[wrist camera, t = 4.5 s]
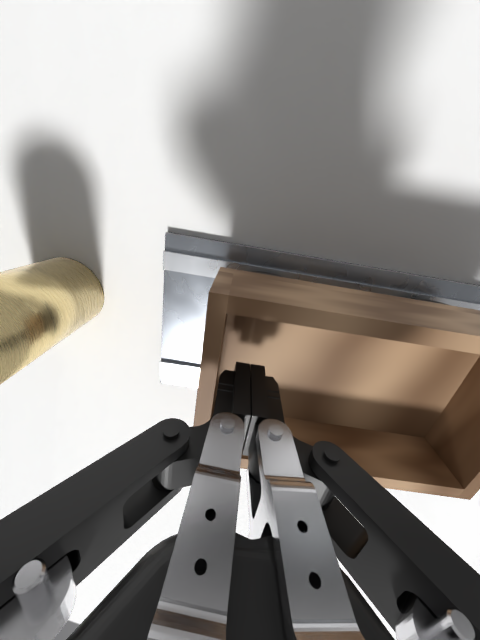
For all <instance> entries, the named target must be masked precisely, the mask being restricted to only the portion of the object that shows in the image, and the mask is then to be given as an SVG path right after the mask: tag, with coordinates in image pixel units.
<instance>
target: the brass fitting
mask: <svg viewBox="0 0 480 640" xmlns="http://www.w3.org/2000/svg"><path fill="white" fill-rule="evenodd" d="M103 303H104V293H103V289H102V286H101V284H100V282H99V280H98V279H97V277H96V276H95V275H94V273H93V272H92V271H91V270H90V269H88V268H87V267H86V266H84V265H83V264H81V263H80V262H78V261H75V260H73V259H69V258H64V257H58V258H52V259H48V260H45V261H41V262H37V263H33V264H29V265H26V266H22V267H18V268H14V269H10V270H7V271H3V272H0V384H2V383H3V382H4V381H6V380H7V379H9V378H10V377H11V376H13V375H14V374H16V373H17V372H18V371H20V370H21V369H22V368H24V367H25V366H27V365H28V364H29V363H31V362H32V361H34V360H35V359H36V358H38V357H39V356H41V355H42V354H43V353H45V352H46V351H48V350H49V349H50V348H52V347H53V346H55V345H56V344H57V343H59V342H60V341H62V340H63V339H64V338H66V337H67V336H69V335H70V334H71V333H73V332H74V331H76V330H77V329H78V328H80V327H81V326H83V325H84V324H85V323H87V322H88V321H90V320H91V319H92V318H94V317H95V316H96V315H98V313H99V312H100V311H101V309H102V307H103Z"/></svg>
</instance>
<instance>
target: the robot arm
mask: <svg viewBox="0 0 480 640" xmlns="http://www.w3.org/2000/svg"><path fill="white" fill-rule="evenodd" d="M279 392H280V391H279V386H278V383H277V382H276V380H275V379H274V377H270V376H266V374H265V366H262V365H256V364H249V363H242V362H236V364H235V369H234V371H231V370H224V371H223V372H222V373H221V375H220V377H219V383H218V389H217V395H216V401H215V407H214V413H213V416H212V418H211V419H210V420H209V421H208V422H206V423H205V424H203V425H200V426H194V427H188V425H187V424H186V423H185V422H184V421H182V420H180V419H175V418H170V419H165V420H163V421H161V422H159V423H157V424H156V425H154V426H152V427H151V428H149V429H148V430H146V431H144V432H143V433H141V434H139V435H138V436H136V437H135V438H133V439H131V440H130V441H128V442H126V443H125V444H123V445H121V446H120V447H118V448H117V449H115V450H113V451H112V452H110V453H108V454H107V455H105V456H104V457H102V458H100V459H99V460H97V461H95V462H94V463H92V464H91V465H89V466H87V467H86V468H84V469H82V470H81V471H79V472H78V473H76V474H74V475H73V476H71V477H69V478H68V479H66V480H64V481H63V482H61V483H60V484H58V485H56V486H55V487H53V488H51V489H50V490H48V491H47V492H45V493H43V494H42V495H40V496H38V497H37V498H35V499H34V500H32V501H30V502H29V503H27V504H25V505H24V506H22V507H20V508H19V509H17V510H16V511H14V512H12V513H11V514H9V515H7V516H6V517H4V518H3V519H1V520H0V640H53V639H54V638H55V637H56V636H57V634H58V633H59V632H60V631H61V629H62V628H63V627H64V625H65V624H66V622H67V620H68V619H69V617H70V615H71V612H72V610H73V607H74V604H75V600H76V586H77V585H78V584H79V583H80V582H81V581H82V580H83V579H85V578H86V577H87V576H88V575H89V574H90V573H91V572H92V571H93V570H94V569H96V568H97V567H98V566H99V565H100V564H101V563H102V562H103V561H104V560H105V559H106V558H108V557H109V556H110V555H111V554H112V553H113V552H114V551H115V550H116V549H117V548H118V547H120V546H121V545H122V544H123V543H124V542H125V541H126V540H127V539H128V538H129V537H130V536H132V535H133V534H134V533H135V532H136V531H137V530H138V529H139V528H140V527H141V526H143V525H144V524H145V523H146V522H147V521H148V520H149V519H150V518H151V517H152V516H153V515H155V514H156V513H157V512H158V511H159V510H160V509H161V508H162V507H163V506H164V505H165V504H167V503H168V502H169V501H170V500H171V499H172V498H173V497H174V496H175V495H176V494H177V493H179V491H180V490H181V489H182V487H186V486H190V485H191V488H190V492H189V496H188V499H187V503H186V506H185V510H184V513H183V517H182V521H181V524H180V528H179V531H178V534H176V535H173V536H171V537H169V538H167V539H165V540H163V541H162V542H160V543H159V544H157V545H156V546H154V547H153V548H152V549H151V550H150V551H149V552H147V553H146V554H145V555H144V556H143V557H142V558H141V560H140V561H139V562H138V563H137V564H136V565H135V566H134V567H133V568H132V569H131V570H130V571H129V572H128V574H127V575H126V576H125V577H124V578H123V579H122V580H121V581H120V582H119V583H118V584H117V585H116V587H115V588H114V589H113V590H112V591H111V592H110V593H109V594H108V595H107V596H106V597H105V598H104V599H103V601H102V602H101V603H100V604H99V605H98V606H97V607H96V608H95V609H94V610H93V611H92V612H91V614H90V615H89V616H88V617H87V618H86V619H85V620H84V621H83V622H82V623H81V624H80V625H79V627H78V628H77V629H76V630H75V631H74V632H73V633H72V634H71V635H70V636H69V637H68V638H67V639H66V640H395V639H394V638H393V637H392V635H391V634H390V633H389V631H388V630H387V629H386V627H385V626H384V625H383V623H382V622H381V621H380V619H379V618H378V616H377V615H376V614H375V612H374V611H373V610H372V608H371V607H370V606H369V604H368V603H367V602H366V600H365V599H364V598H363V596H362V595H361V593H360V592H359V591H358V589H357V588H356V587H355V585H354V584H353V583H352V581H351V580H350V579H349V577H348V576H347V575H346V574H345V573H344V572H343V571H342V570H341V568H340V567H339V564H338V561H337V558H338V560H339V561H340V562H341V563H342V565H343V566H344V567H345V568H346V570H347V571H348V572H349V574H350V575H351V576H352V577H353V579H354V580H355V581H356V583H357V584H358V585H359V586H360V588H361V589H362V590H363V591H364V593H365V594H366V595H367V597H368V598H369V599H370V600H371V602H372V603H373V604H374V605H375V607H376V608H377V609H378V611H379V612H380V613H381V614H382V616H383V617H384V618H385V620H386V621H387V622H388V623H389V625H390V626H391V627H392V628H393V630H394V631H395V632H396V638H397V640H480V575H479V574H478V573H477V572H476V571H475V570H474V569H473V568H472V567H471V566H469V565H468V564H467V563H466V562H465V561H464V560H463V559H462V558H461V557H460V556H458V555H457V554H456V553H455V552H454V551H453V550H452V549H451V548H450V547H449V546H447V545H446V544H445V543H444V542H443V541H442V540H441V539H440V538H439V537H438V536H436V535H435V534H434V533H433V532H432V531H431V530H430V529H429V528H428V527H427V526H425V525H424V524H423V523H422V522H421V521H420V520H419V519H418V518H417V517H416V516H414V515H413V514H412V513H411V512H410V511H409V510H408V509H407V508H406V507H405V506H403V505H402V504H401V503H400V502H399V501H398V500H397V499H396V498H395V497H394V496H392V495H391V494H390V493H389V492H388V491H387V490H386V489H385V488H384V487H383V486H381V485H380V484H379V483H378V482H377V481H376V480H375V479H374V478H373V477H372V476H370V475H369V474H368V473H367V472H366V471H365V470H364V469H363V468H362V467H361V466H359V465H358V464H357V463H356V462H355V461H354V460H353V459H352V458H351V457H350V456H348V455H347V454H346V453H345V452H344V451H343V450H342V449H341V448H340V447H338V446H337V445H335V444H333V443H331V442H328V441H318V442H316V443H315V444H314V446H311V445H309V444H307V443H305V442H302V441H300V440H298V439H297V438H295V437H294V436H293V435H292V433H291V431H290V429H289V428H288V426H287V425H286V424H285V421H284V415H283V409H282V403H281V400H280V399H281V397H280V393H279ZM242 455H246V456H248V467H247V471H246V481H247V495H248V510H249V535H248V538H246V537H244V536H242V535H240V534H237V533H235V531H236V522H237V512H238V502H239V492H240V482H241V476H240V465H241V456H242ZM335 496H336V497H337V498H338V499H339V500H338V499H337V498H336V497H335ZM342 504H343V505H344V506H345V507H346V508H347V509H348V510H349V511H350V512H351V513H350V512H349V511H348V510H347V509H346V508H345V507H344V506H343V505H342ZM354 517H355V518H356V519H357V520H358V521H359V522H360V523H361V524H362V525H361V524H360V523H359V522H358V521H357V520H356V519H355V518H354ZM336 557H337V558H336Z"/></svg>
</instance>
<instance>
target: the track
mask: <svg viewBox="0 0 480 640" xmlns="http://www.w3.org/2000/svg"><path fill="white" fill-rule="evenodd" d="M220 267H225V268H231V269H237V270H243V271H249V272H251V271H261V272H268V273H272V274H276V275H279V276H281V277H284V278H290V279H296V280H302V281H308V282H314V283H320V284H326V285H332V286H338V287H344V288H350V289H356V290H362V291H368V292H374V293H379V294H385V295H391V296H397V297H403V298H409V299H415V300H420V299H428V300H434V301H438V302H441V303H445V304H448V305H451V306H457V307H463V308H469V309H475V310H480V286H478V285H472V284H466V283H460V282H455V281H449V280H443V279H437V278H431V277H426V276H420V275H414V274H408V273H402V272H396V271H391V270H385V269H379V268H373V267H367V266H362V265H356V264H350V263H344V262H338V261H333V260H327V259H321V258H315V257H309V256H304V255H298V254H292V253H286V252H280V251H274V250H269V249H263V248H257V247H251V246H245V245H240V244H234V243H228V242H222V241H216V240H211V239H205V238H199V237H193V236H187V235H182V234H176V233H170V232H166V235H165V251H164V252H163V270H164V294H163V324H162V353H161V361H160V374H161V383H165V384H172V385H179V386H186V387H192V388H198V382H199V373H200V364H201V355H202V347H203V338H204V329H205V320H206V311H207V303H208V294H209V290H210V288H211V286H212V284H213V282H214V280H215V277H216V275H217V273H218V271H219V269H220Z"/></svg>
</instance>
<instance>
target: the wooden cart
mask: <svg viewBox="0 0 480 640" xmlns="http://www.w3.org/2000/svg"><path fill="white" fill-rule="evenodd" d="M236 362H242V363H249V364H256V365H262V366H265V374H266V376H270V377H274V379H275V380H276V382H277V383H278V386H279V391H280V392H279V393H280V397H281V399H280V400H281V403H282V409H283V415H284V421H285V424H286V425H287V426H288V428H289V429H290V431H291V433H292V435H293V436H294V437H295V438H297V439H298V440H300V441H302V442H305V443H307V444H309V445H311V446H314V444H315V443H316V442H318V441H328V442H331V443H333V444H335V445H337V446H338V447H340V448H341V449H342V450H343V451H344V452H345V453H346V454H347V455H348V456H350V457H351V458H352V459H353V460H354V461H355V462H356V463H357V464H358V465H359V466H361V467H362V468H363V469H364V470H365V471H366V472H367V473H368V474H369V475H370V476H372V477H373V478H374V479H375V480H376V481H377V482H378V483H379V484H380V485H381V486H383V487H384V488H389V489H396V490H404V491H411V492H418V493H426V494H433V495H440V496H447V497H455V498H462V499H469V500H470V499H471V498H472V497H473V496H474V495H475V494H476V493H477V491H478V490H479V489H480V310H475V309H469V308H463V307H457V306H451V305H448V304H445V303H441V302H438V301H434V300H428V299H420V300H415V299H409V298H403V297H397V296H391V295H385V294H379V293H374V292H368V291H362V290H356V289H350V288H344V287H338V286H332V285H326V284H320V283H314V282H308V281H302V280H296V279H290V278H284V277H281V276H279V275H276V274H272V273H268V272H261V271H251V272H249V271H243V270H237V269H231V268H225V267H220V269H219V271H218V273H217V275H216V277H215V280H214V282H213V284H212V286H211V288H210V290H209V294H208V303H207V311H206V320H205V329H204V338H203V347H202V355H201V364H200V373H199V382H198V391H197V399H196V408H195V417H194V426H200V425H203V424H205V423H206V422H208V421H209V420H210V419H211V418H212V416H213V413H214V407H215V401H216V395H217V389H218V383H219V377H220V375H221V373H222V372H223V371H224V370H231V371H234V369H235V364H236ZM194 426H193V427H194ZM247 467H248V456H246V455H242V456H241V465H240V468H243V469H247Z"/></svg>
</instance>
